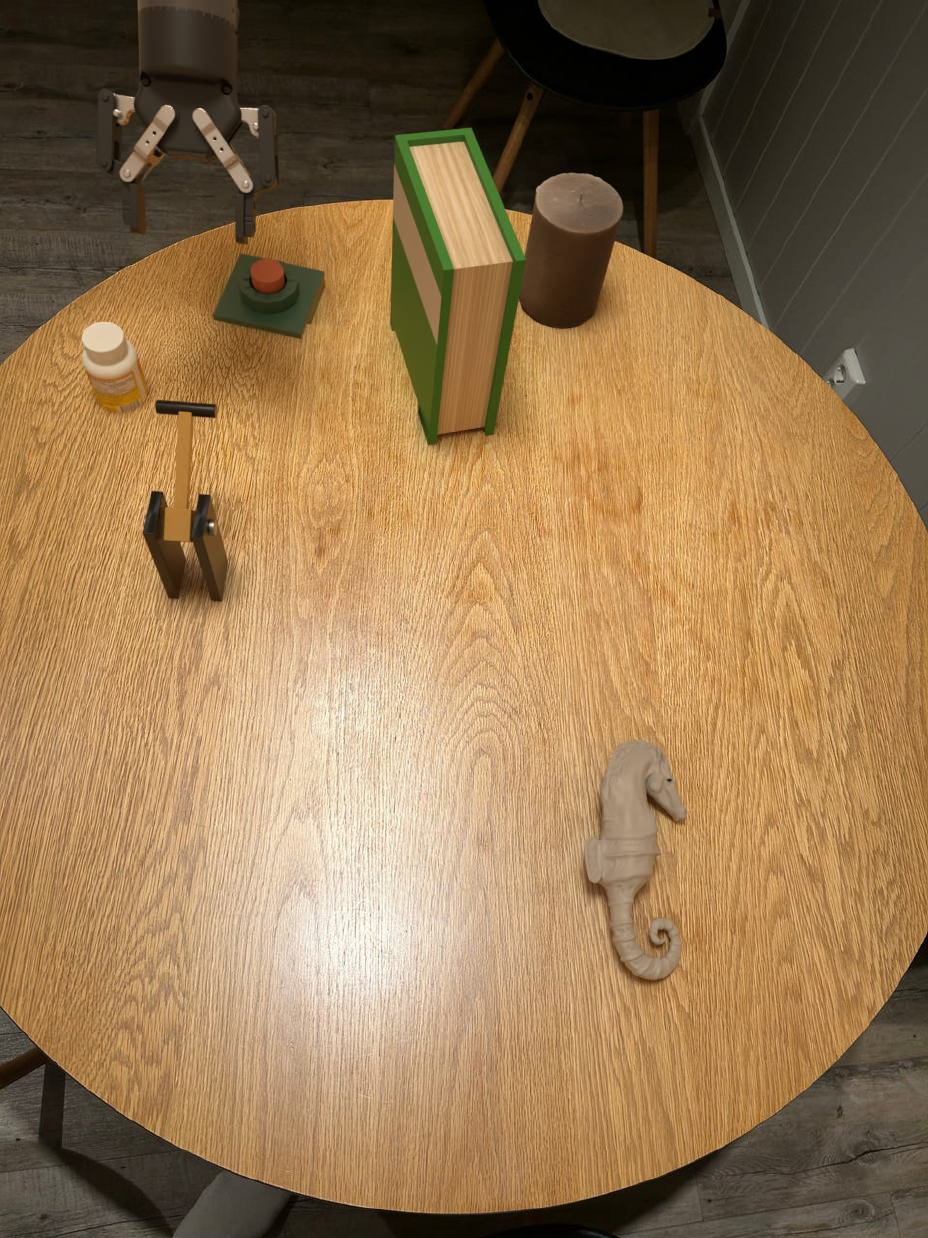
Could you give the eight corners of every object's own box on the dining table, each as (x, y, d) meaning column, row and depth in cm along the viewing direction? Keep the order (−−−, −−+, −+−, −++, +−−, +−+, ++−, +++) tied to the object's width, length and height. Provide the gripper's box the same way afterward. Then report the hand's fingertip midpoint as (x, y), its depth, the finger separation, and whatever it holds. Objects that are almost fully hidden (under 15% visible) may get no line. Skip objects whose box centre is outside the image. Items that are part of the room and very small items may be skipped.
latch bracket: (167, 540, 93) (139, 462, 82) (249, 545, 93) (232, 469, 82) (149, 630, 88) (117, 561, 77) (235, 635, 89) (216, 567, 78)
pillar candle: (589, 336, 110) (619, 232, 97) (509, 316, 111) (528, 210, 97) (603, 279, 115) (633, 172, 102) (525, 260, 115) (546, 151, 102)
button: (248, 290, 104) (246, 278, 102) (257, 267, 106) (255, 255, 104) (279, 297, 104) (278, 285, 102) (288, 274, 106) (287, 262, 104)
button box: (215, 328, 106) (210, 302, 102) (242, 267, 110) (238, 240, 107) (301, 347, 106) (299, 321, 102) (325, 285, 110) (323, 258, 107)
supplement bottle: (136, 427, 99) (114, 364, 90) (89, 412, 99) (63, 347, 90) (159, 390, 101) (140, 325, 93) (113, 375, 101) (90, 309, 93)
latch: (160, 402, 82) (153, 396, 79) (219, 406, 82) (213, 401, 80) (154, 539, 82) (146, 539, 80) (211, 543, 83) (206, 543, 80)
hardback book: (493, 434, 102) (526, 259, 81) (428, 444, 101) (443, 270, 80) (451, 315, 110) (471, 127, 89) (390, 324, 108) (394, 135, 87)
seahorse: (739, 964, 78) (684, 730, 84) (629, 990, 73) (578, 738, 79) (699, 966, 82) (649, 743, 88) (592, 991, 77) (546, 751, 83)
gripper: (79, -9, 69) (88, 227, 74) (273, 12, 70) (269, 243, 75) (110, 21, 77) (117, 234, 81) (286, 39, 78) (282, 249, 82)
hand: (190, 238), depth 78 cm, fingers open, 8 cm apart
